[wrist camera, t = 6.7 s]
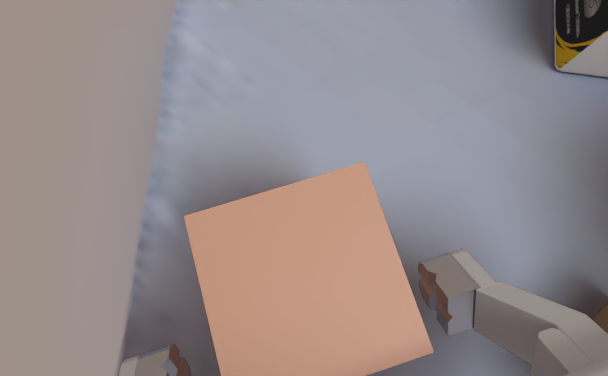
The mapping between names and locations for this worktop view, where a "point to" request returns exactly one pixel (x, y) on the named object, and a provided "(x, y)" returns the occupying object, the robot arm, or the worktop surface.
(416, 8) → the worktop surface
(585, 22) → the medicine bottle
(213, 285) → the terracotta block
